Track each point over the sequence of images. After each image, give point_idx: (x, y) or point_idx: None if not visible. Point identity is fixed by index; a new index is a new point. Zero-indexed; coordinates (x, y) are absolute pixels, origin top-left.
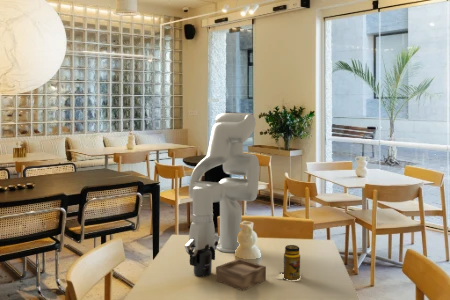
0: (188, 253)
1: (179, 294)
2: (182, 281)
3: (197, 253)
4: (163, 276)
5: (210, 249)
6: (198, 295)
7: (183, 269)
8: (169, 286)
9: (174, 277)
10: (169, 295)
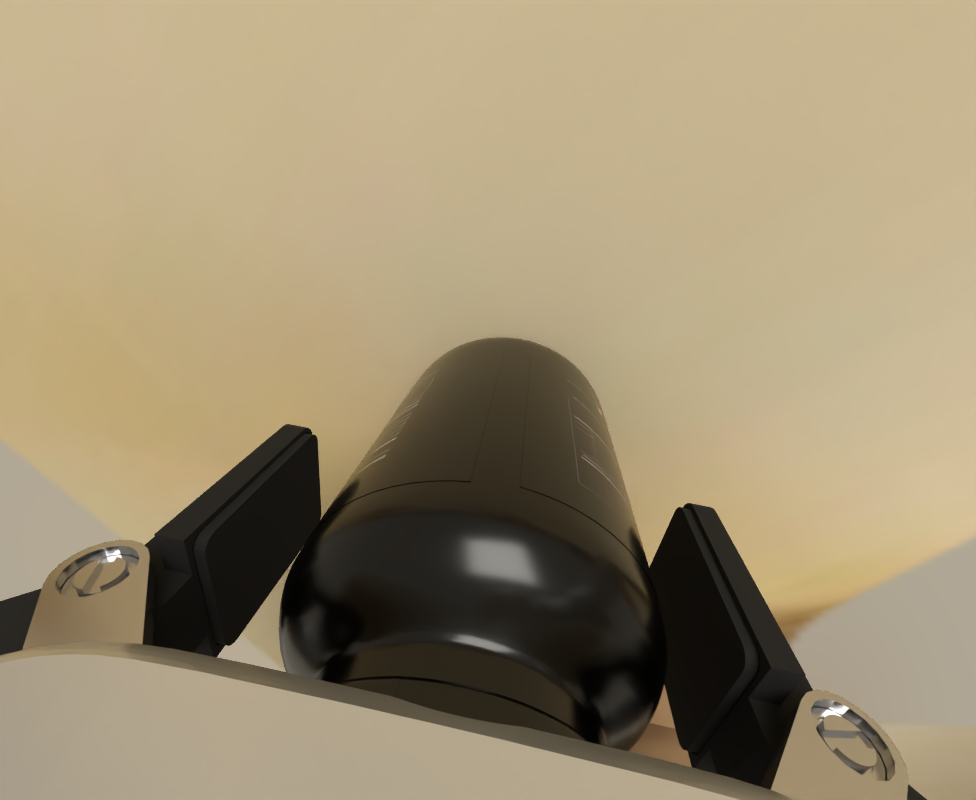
0: (21, 604)
1: (83, 493)
2: (230, 373)
3: (284, 649)
4: (132, 77)
5: (739, 701)
6: None
7: (486, 129)
8: (75, 346)
9: (225, 232)
10: (12, 449)
